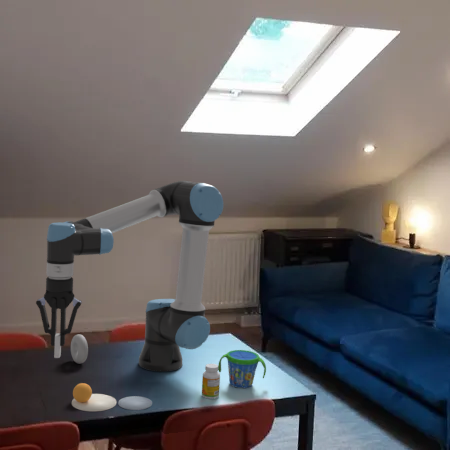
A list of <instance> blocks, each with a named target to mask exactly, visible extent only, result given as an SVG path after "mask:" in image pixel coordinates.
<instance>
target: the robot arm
mask: <svg viewBox="0 0 450 450" xmlns="http://www.w3.org/2000/svg"><path fill="white" fill-rule="evenodd" d="M223 210H224V200H223V195H222V194H221V192H220V191H219V189H218V188H216V187H215V186H214V185H211V184H208V183H205V182H194V181H189V180H178V181H174V182H171V183H169V184H166V185H162V186H159V187H158V188H154V189H152V190H150V192H149V193H148V194H147V195H144V196H142V197H139V198H136V199H134V200H131V201H128V202H126V203H123V204H121V205H117V206H115V207H112V208H109V209H107V210H103V211H101V212H98V213H96V214H92V215H91V216H90V215H89V216H87V217H85V218H82V219H78V220H76V221H64V222H60V221H59V222H51V223H50V224H49V225H48V228H47V234H46V270H45V271H46V276H47V277H46V278H45V293H44V295H43V297H41V298H38V299H37V300H36V301H35V304H36V306H37V308H38V309H39V312H40V313H39V314H40V317H41V322H42V327H43V331H44V332H45V334H49V335H50V346H51V347H54V350H53V351H54V353H53V354H54V355H53V356H54V359H60V357H61V356H62V354H61V353H62V347H64V346H65V344H66V335H68V334H71V332H72V329H73V326H74V324H75V320H76V316H77V313H78V309H79V308H80V307H81V305H82V303H83V302H82V300H81V299H77V298H76V297H75V294H74V278H73V276H74V266H75V265H74V264H75V256H76V257H77V256H87V255H89V256H91V255H100V256H101V255H103V254H104V255H105V254H109V253H110V252H112V250H113V248H114V243H115V242H114V236H113V234H114V233H117V232H120V231H122V230H124V229H127V228H130V227H132V226H135V225H138V224H140V223H142V222H144V221H148V220H150V219H153V218H155V217H158V218H164V217H167V216H171V215H178V216H179V217H178V224H179V226H181V228H182V232H181V234H182V235H181V243H180V244H181V245H180V253H179V263H178V269H177V270H178V272H177V280H176V281H177V283H176V293H175V298H158V299H151V300H149V301H148V302H147V303H146V307H145V326H144V328H145V331H144V344H143V347H142V349H141V351H140V354H139V357H138V366H139V367H140V368H142V369H144V370H147V371H151V372H172V371H177V370H179V369H180V368H182V366H183V356H182V352H181V349H180V348H182V349H185V350H196V349H199V348H200V347H201V346H202V345H203V344H204V343H205V342H207V340H208V337H209V336H210V332H211V325H210V322H209V321H208V319H207V318H206V317H205V316H206V315H205V314H206V307H205V305H204V304H203V303H202V299H203V290H204V281H205V280H204V279H205V272H206V262H207V251H208V244H209V243H208V242H209V233H210V231H211V229H212V228H214V227H215V221H216V220H218V219H219V218H220V216H221V215H222V213H223ZM46 303H47V304H48V306H49V308H51V313H50V314H51V316H50V317H51V321H50V322H49V319H48V314H47V309H46V306H45V305H46ZM71 303H72V307H73V308H72V312H71V314H70V317H69V321H68V324H67V328H66V321H67V320H66V319H67V314H66V313H67V308H68V307H69V306H70V304H71ZM58 310H60V320H59V321H60V323H59V324H60V327H59V333H57V331H58V330H57V321H58V319H57V318H58V317H57V314H58Z"/></svg>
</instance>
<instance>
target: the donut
mask: <svg viewBox="0 0 450 450" xmlns="http://www.w3.org/2000/svg"><path fill="white" fill-rule="evenodd" d="M88 346H89V345H88V341H87V339H86V337H85V336H84V335H83V334H81V333H80V334H75V335H74V336H73V337H72V339H71V343H70V354H71V357H72V359H73V361H74V362H75V363H76V364H80V365H81V364H83V363H85V362H86V360H87V358H88V355H89V347H88Z"/></svg>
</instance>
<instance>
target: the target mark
mask: <svg viewBox="0 0 450 450" xmlns="http://www.w3.org/2000/svg"><path fill="white" fill-rule="evenodd" d="M117 404H118V401H117V399H116V398H115V397H114V396H111V395H107V394H103V393H92V395H91V397H90V399H89V400H88V401H86V402H78V401H76V400H75V398H74V397H73V399H72V401H71V406H72V407H73V408H74V409H77V410H79V411H82V412H83V411H84V412H103V411H107V410H110V409H113V408H114V407H115V406H116V405H117Z"/></svg>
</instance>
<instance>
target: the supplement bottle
mask: <svg viewBox="0 0 450 450" xmlns="http://www.w3.org/2000/svg"><path fill="white" fill-rule="evenodd" d="M218 365H219V364H216V363H207V364H205V367H204V369H205V371H203V372H202V383H201V396H202V397H203V398H205V399H209V400H211V399H213V400H214V399H218V398H219V396H220V383H221V372H219V370H218Z"/></svg>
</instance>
